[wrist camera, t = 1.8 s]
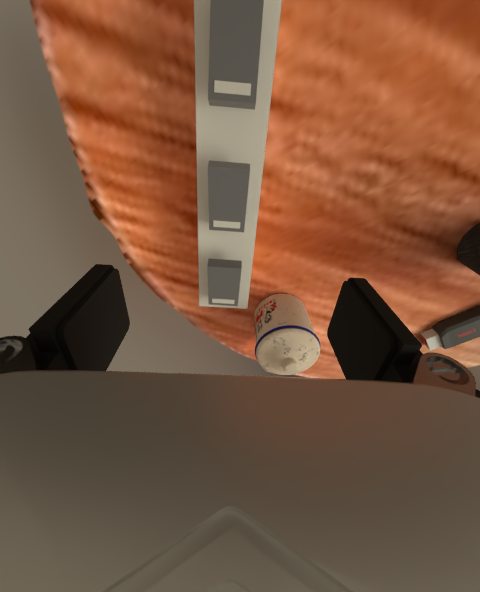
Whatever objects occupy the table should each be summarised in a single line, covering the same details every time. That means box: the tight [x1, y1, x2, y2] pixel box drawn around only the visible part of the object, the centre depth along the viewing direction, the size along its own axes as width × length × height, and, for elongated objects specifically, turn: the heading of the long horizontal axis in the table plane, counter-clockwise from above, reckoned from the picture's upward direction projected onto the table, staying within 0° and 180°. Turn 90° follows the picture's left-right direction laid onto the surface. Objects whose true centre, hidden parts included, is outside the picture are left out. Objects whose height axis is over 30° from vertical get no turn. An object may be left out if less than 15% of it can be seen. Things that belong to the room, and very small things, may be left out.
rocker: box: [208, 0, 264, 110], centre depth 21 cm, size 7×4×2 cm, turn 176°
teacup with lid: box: [254, 294, 320, 375], centre depth 39 cm, size 12×9×12 cm
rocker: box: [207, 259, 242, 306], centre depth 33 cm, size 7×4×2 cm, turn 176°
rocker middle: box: [208, 160, 250, 232], centre depth 27 cm, size 7×4×2 cm, turn 176°
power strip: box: [194, 0, 282, 309], centre depth 29 cm, size 36×7×5 cm, turn 176°
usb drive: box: [421, 305, 480, 350], centre depth 43 cm, size 5×12×3 cm, turn 124°
